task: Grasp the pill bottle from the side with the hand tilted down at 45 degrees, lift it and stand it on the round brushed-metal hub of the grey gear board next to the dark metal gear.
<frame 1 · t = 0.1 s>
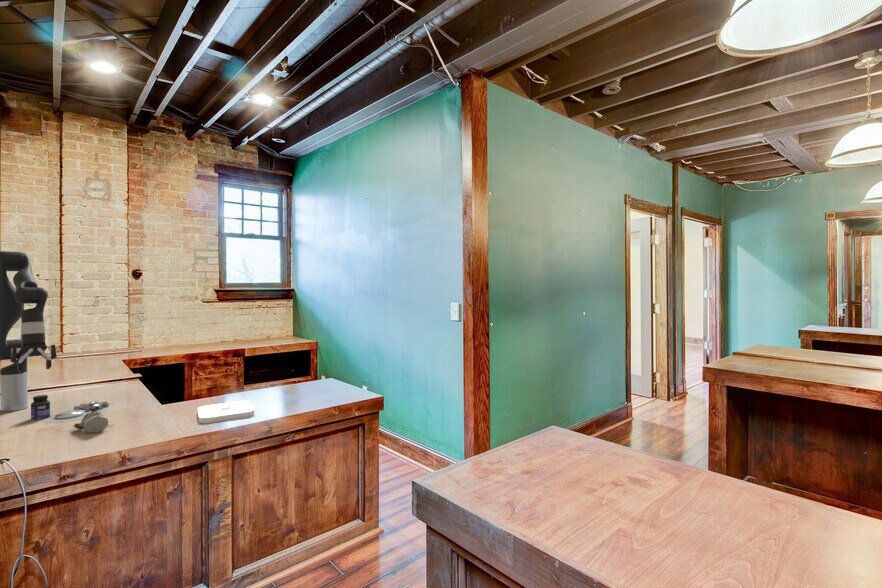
hand: (34, 370, 184), 22 cm above the table, fingers open, 8 cm apart
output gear: (91, 408, 201), resting on gear board
pill bottle: (40, 421, 186), on the table
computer: (225, 415, 196), on the table
gear board: (80, 416, 193), on the table
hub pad: (70, 415, 189), resting on gear board
ceramic sculpture: (93, 430, 174), on the table
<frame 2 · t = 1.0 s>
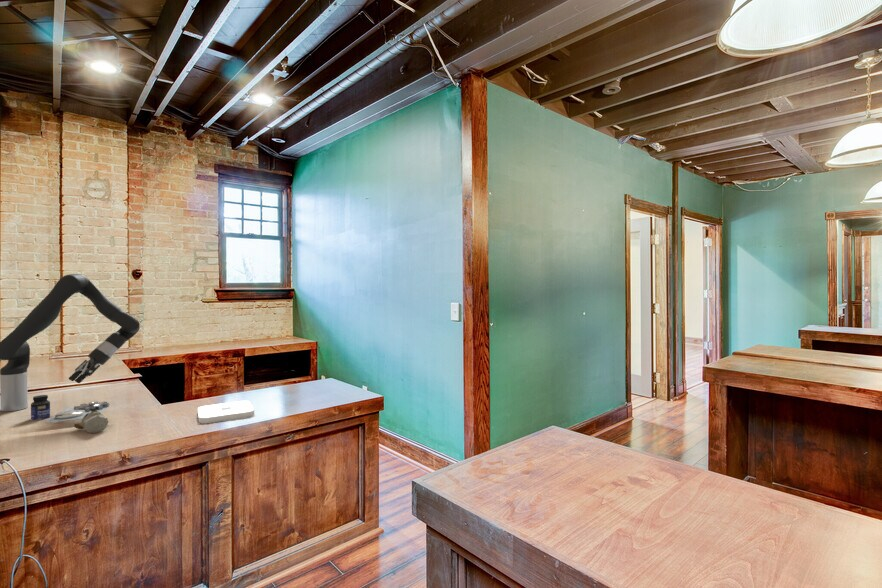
hand: (73, 381, 195), 15 cm above the table, fingers open, 8 cm apart
nothing on the table moved.
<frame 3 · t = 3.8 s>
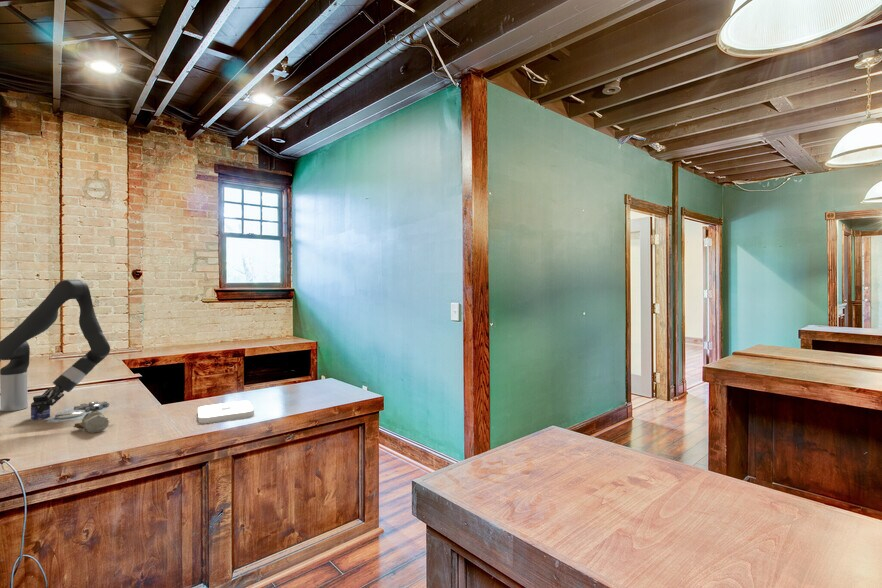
hand: (35, 411, 184), 5 cm above the table, fingers closed on pill bottle, 6 cm apart
pill bottle: (40, 421, 186), on the table, touching gripper
everything else where it was.
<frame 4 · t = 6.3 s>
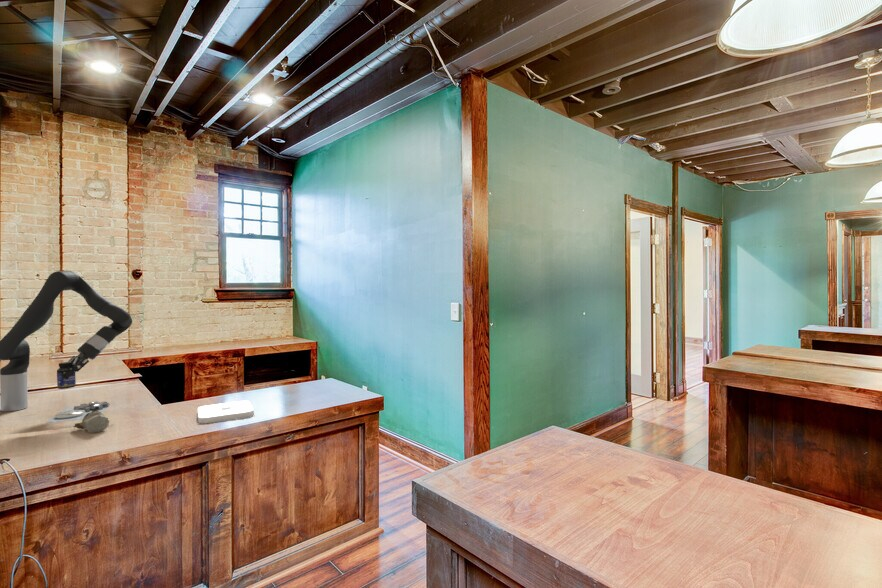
hand: (61, 377, 187), 19 cm above the table, fingers closed on pill bottle, 6 cm apart
pill bottle: (66, 388, 188), point 14 cm above the table, touching gripper
everything else where it was.
when the fingers open (9 cm above the table, at t = 8.7 s): pill bottle drops 1 cm, resting on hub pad.
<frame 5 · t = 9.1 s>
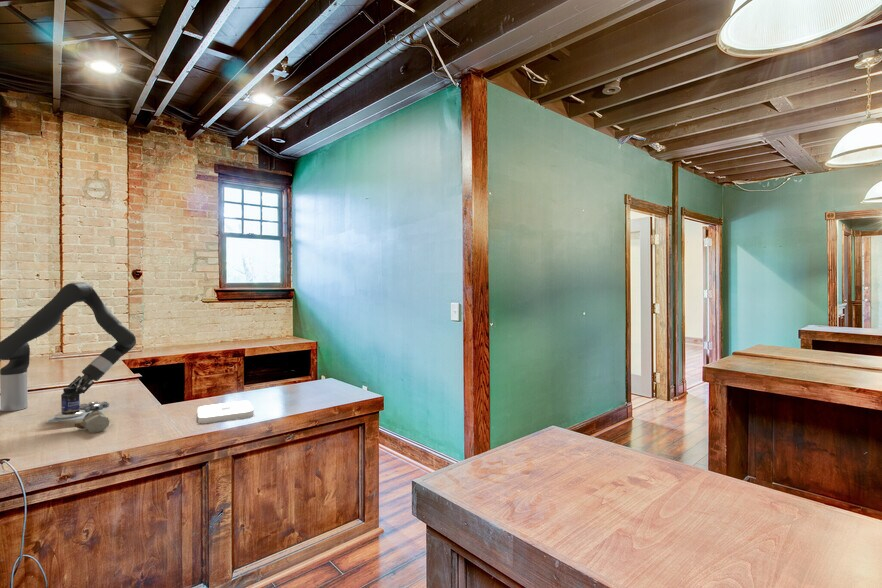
hand: (66, 398, 188), 9 cm above the table, fingers open, 8 cm apart
pill bottle: (70, 413, 189), point 3 cm above the table, touching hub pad
everything else where it was.
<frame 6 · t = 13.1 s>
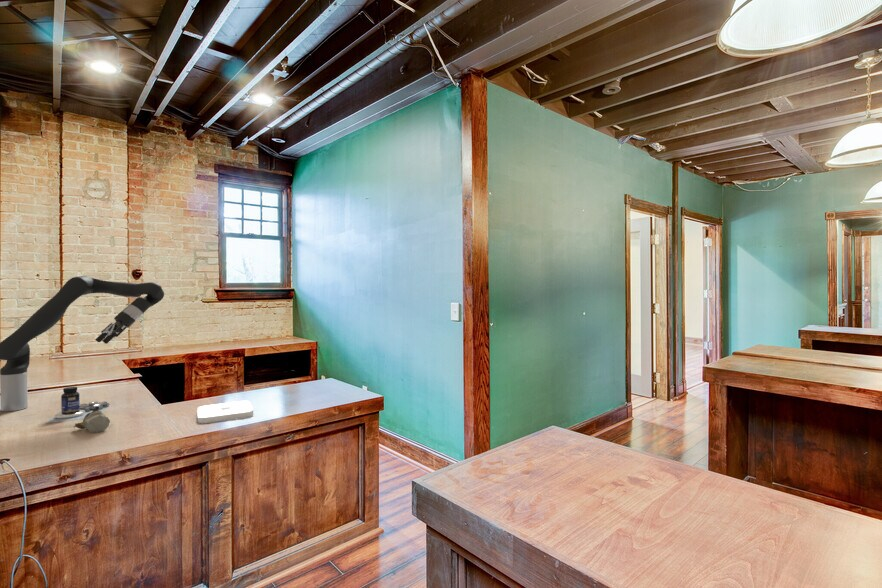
hand: (100, 341, 200), 33 cm above the table, fingers open, 8 cm apart
nothing on the table moved.
at the end: pill bottle 0.3 cm from the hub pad (horizontally); pill bottle tilted 0°; the gripper is holding nothing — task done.
